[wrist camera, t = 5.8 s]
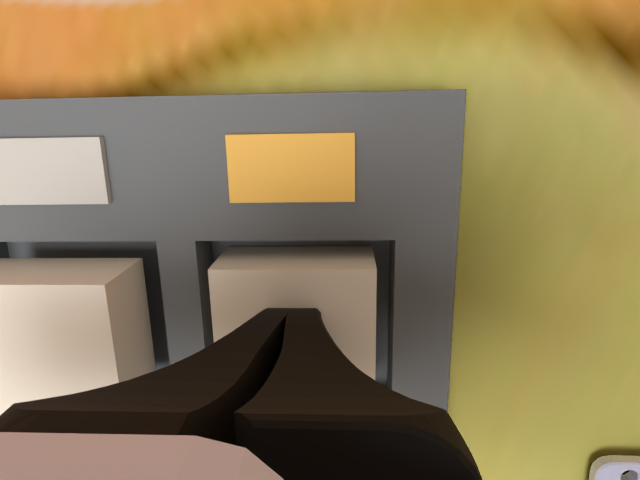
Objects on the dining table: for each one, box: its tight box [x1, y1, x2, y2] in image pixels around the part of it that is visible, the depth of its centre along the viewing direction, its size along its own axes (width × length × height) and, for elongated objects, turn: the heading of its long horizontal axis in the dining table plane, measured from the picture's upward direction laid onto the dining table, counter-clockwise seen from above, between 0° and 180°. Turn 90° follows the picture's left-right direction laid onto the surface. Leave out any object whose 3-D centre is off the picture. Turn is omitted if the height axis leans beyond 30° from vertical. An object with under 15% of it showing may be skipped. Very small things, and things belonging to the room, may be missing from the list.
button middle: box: [0, 258, 156, 415], centre depth 12 cm, size 4×4×2 cm
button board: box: [0, 89, 466, 411], centre depth 14 cm, size 20×12×2 cm, turn 91°
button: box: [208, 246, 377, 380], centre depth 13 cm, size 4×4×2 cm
